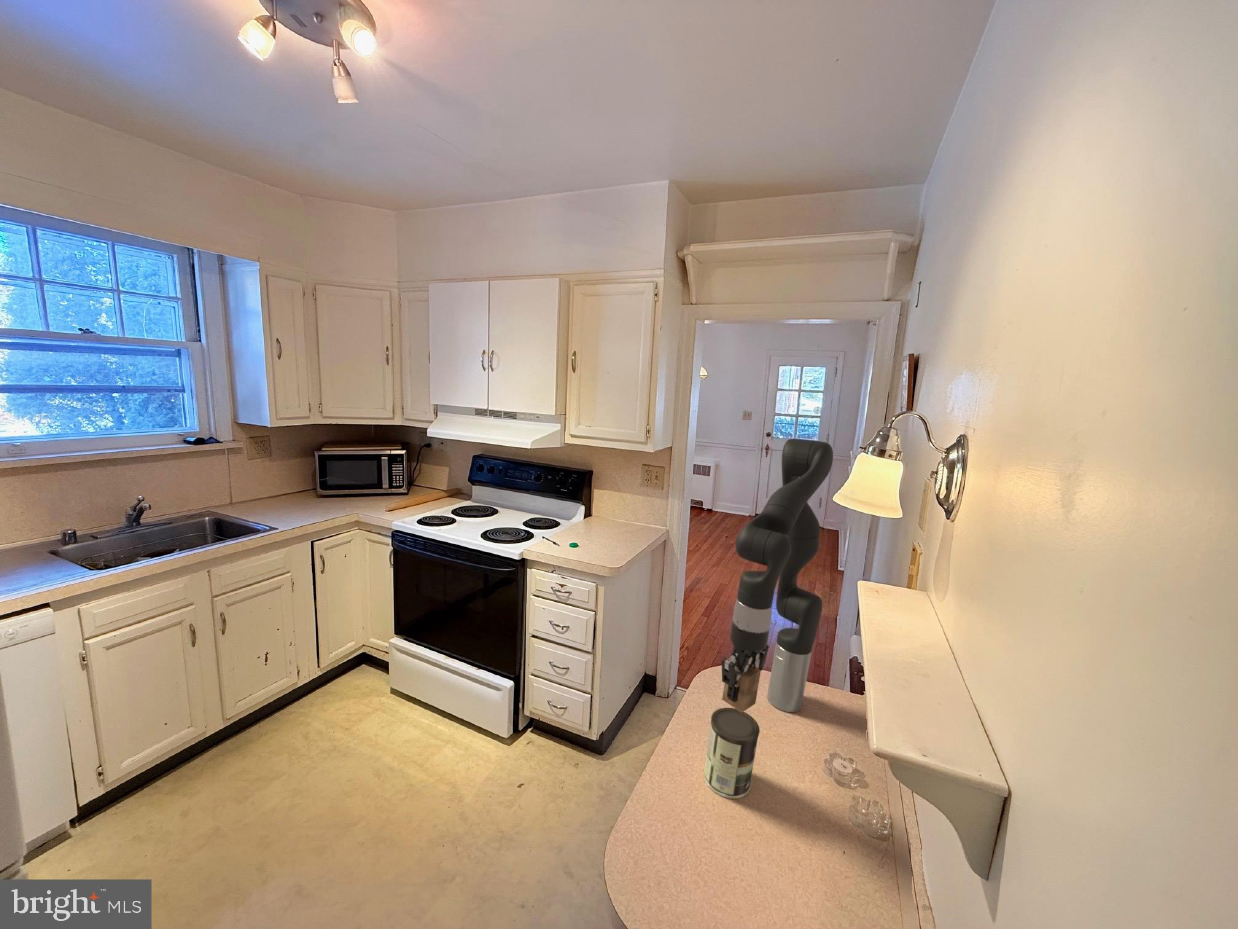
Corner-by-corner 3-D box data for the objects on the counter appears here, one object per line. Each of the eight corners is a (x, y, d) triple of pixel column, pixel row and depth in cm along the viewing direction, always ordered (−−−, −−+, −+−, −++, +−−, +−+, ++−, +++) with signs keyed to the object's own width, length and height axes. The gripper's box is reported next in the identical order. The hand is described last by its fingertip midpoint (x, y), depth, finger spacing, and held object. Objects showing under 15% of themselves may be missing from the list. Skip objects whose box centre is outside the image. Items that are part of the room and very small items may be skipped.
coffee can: (744, 763, 113) (752, 709, 110) (755, 801, 103) (765, 743, 100) (699, 759, 113) (707, 704, 110) (706, 796, 103) (715, 738, 100)
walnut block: (736, 691, 108) (741, 658, 106) (755, 704, 104) (760, 670, 103) (722, 699, 104) (727, 665, 103) (741, 712, 101) (747, 678, 99)
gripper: (755, 606, 108) (744, 675, 111) (715, 623, 99) (704, 697, 102) (785, 620, 103) (773, 692, 106) (746, 640, 93) (733, 718, 97)
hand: (739, 694), depth 104 cm, fingers closed on walnut block, 5 cm apart
